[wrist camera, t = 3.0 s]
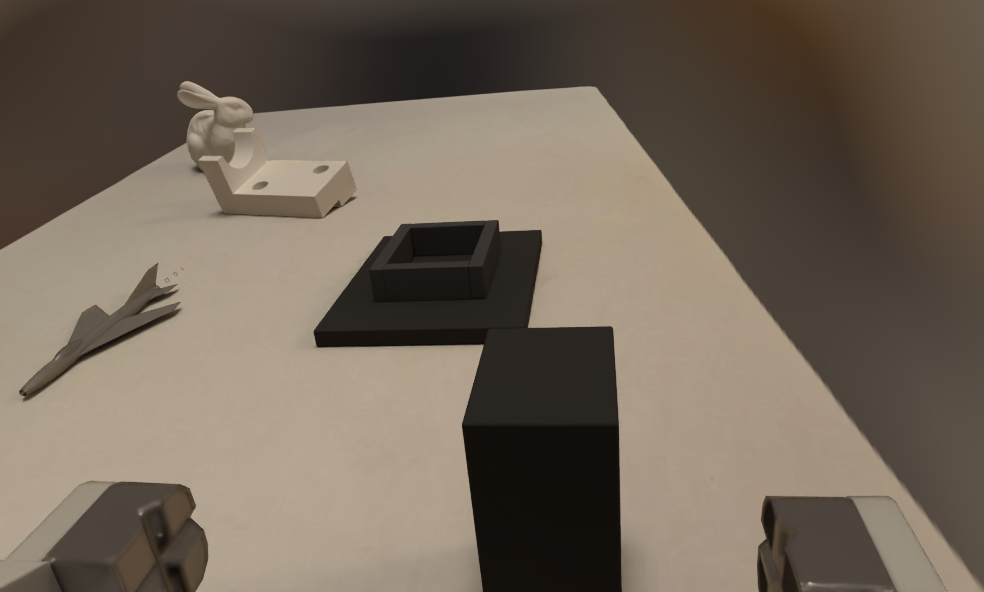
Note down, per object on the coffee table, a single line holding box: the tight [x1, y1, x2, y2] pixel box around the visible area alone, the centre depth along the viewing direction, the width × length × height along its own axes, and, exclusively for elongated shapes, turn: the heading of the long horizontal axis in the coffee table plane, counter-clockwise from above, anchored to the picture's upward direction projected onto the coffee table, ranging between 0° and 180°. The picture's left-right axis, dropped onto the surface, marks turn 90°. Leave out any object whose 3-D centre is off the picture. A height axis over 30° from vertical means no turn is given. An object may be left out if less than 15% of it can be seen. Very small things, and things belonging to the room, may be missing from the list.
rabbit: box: [177, 82, 253, 170], centre depth 97 cm, size 12×9×12 cm
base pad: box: [314, 220, 542, 346], centre depth 54 cm, size 14×18×4 cm
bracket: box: [198, 128, 357, 218], centre depth 77 cm, size 13×7×8 cm, turn 69°
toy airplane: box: [19, 263, 184, 396], centre depth 53 cm, size 8×21×2 cm, turn 174°
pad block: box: [462, 326, 622, 592], centre depth 25 cm, size 4×6×10 cm
